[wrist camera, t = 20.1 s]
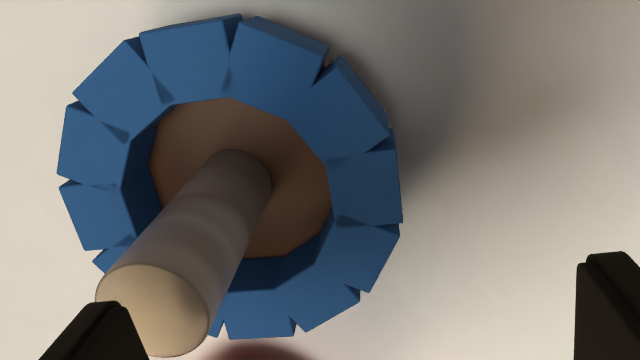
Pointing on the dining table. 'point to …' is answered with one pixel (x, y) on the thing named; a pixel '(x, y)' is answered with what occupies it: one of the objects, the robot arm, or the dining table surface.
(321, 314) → the collar
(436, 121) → the dining table surface
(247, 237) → the peg on square base
